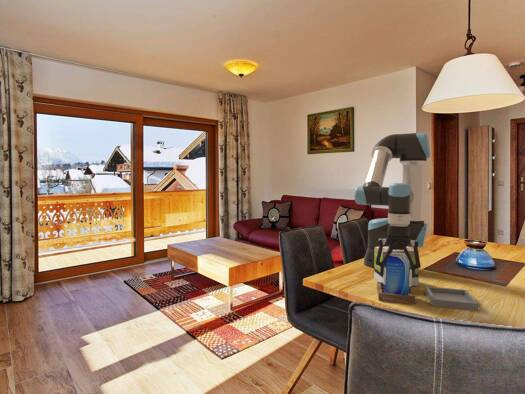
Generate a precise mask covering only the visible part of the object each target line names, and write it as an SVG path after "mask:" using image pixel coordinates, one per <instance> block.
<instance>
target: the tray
mask: <svg viewBox="0 0 525 394" xmlns="http://www.w3.org/2000/svg"><path fill="white" fill-rule="evenodd" d="M424 286H425V290H424V293H425V295H426V296H427V298H428V300H429V302H430V304H431V306H432V307H437V308H446V309H447V308H448V309H457V310H467V311H477V312H479V310H480V307H479V306H480V304H479V302H478V301H477V300H476V299H475V298H474V297H473V295H472V294H471V293H470V292H469V291H468V290H467V289H464V288H463V289H462V288H461V289H459V288H452V287H451V288H450V287H439V286H438V287H436V286H430V285H429V286H427V285H424Z"/></svg>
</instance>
